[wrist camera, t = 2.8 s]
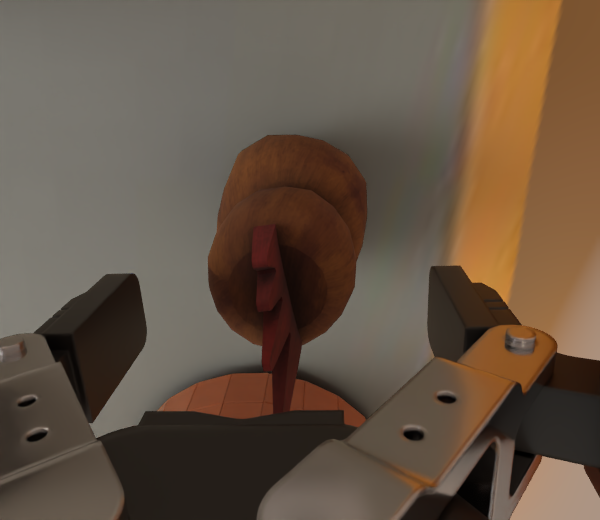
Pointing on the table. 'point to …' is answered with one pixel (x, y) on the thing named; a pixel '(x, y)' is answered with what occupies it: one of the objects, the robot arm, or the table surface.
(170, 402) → the bowl
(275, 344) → the wooden figurine
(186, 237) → the table surface
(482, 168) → the table surface
